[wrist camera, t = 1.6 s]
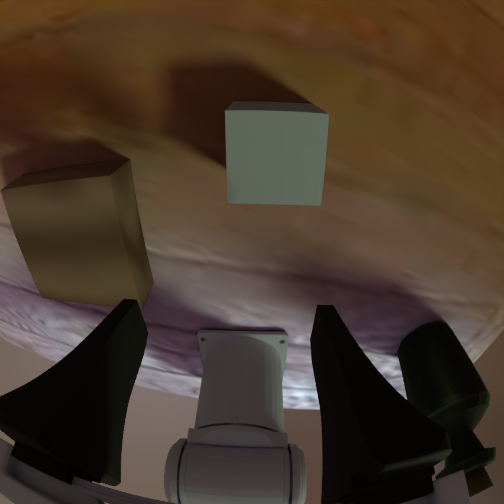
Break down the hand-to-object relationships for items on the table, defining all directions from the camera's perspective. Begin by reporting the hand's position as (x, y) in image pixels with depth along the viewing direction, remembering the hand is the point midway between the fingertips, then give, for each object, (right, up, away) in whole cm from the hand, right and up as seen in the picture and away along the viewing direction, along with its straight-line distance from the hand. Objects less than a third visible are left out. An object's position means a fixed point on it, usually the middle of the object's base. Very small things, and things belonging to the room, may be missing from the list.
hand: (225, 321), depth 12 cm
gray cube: (+2, +9, +5) cm, 11 cm away
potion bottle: (+19, -7, +15) cm, 25 cm away
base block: (-12, +5, +9) cm, 15 cm away
